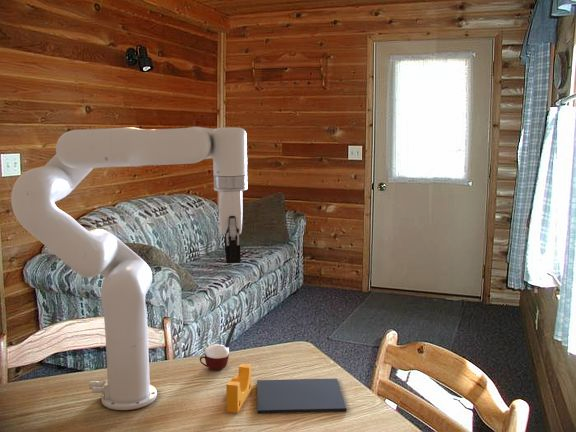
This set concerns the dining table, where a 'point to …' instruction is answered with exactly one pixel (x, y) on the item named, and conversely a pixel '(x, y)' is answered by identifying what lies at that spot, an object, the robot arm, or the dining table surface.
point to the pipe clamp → (239, 388)
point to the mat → (299, 396)
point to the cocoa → (218, 353)
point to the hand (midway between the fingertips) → (232, 257)
